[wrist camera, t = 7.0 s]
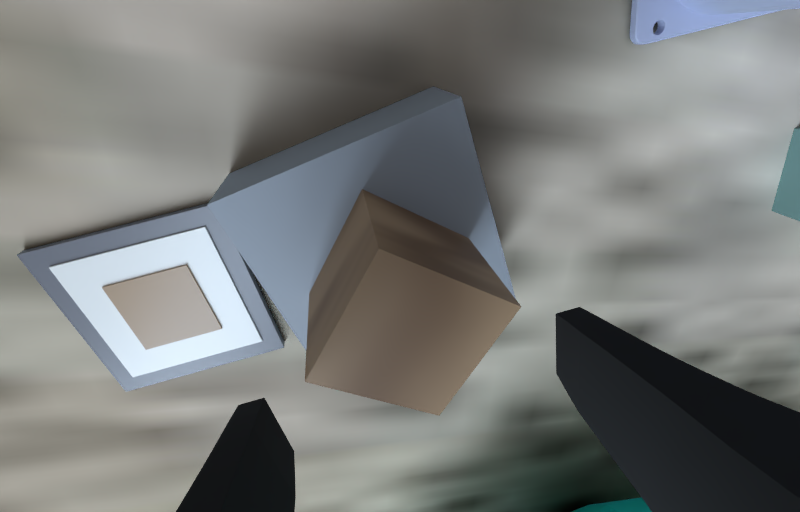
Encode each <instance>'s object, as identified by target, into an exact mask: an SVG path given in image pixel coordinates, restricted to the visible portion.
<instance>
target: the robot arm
mask: <svg viewBox="0 0 800 512" xmlns="http://www.w3.org/2000/svg"><path fill="white" fill-rule="evenodd" d="M799 8H800V0H632V10H631V24H630V39H631V41H632V42H633V43H634V44H648V43H652V42H656V41H660V40H664V39H668V38H672V37H676V36H680V35H684V34H688V33H692V32H696V31H700V30H704V29H708V28H712V27H716V26H720V25H724V24H728V23H732V22H736V21H740V20H744V19H749V18H753V17H757V16H761V15H765V14H769V13H773V12H777V11H781V10H786V9H799ZM656 22H657V23H658V28H657V30H656V32H655V33H653V27H654V24H655V23H656ZM556 371H557V375H558V377H559V379H560V380H561V382H562V384H563V386H564V388H565V389H566V391H567V393H568V395H569V396H570V398H571V400H572V401H573V403H574V405H575V407H576V408H577V410H578V412H579V413H580V414H581V416H582V417H583V418H584V420H585V421H586V423H587V424H588V425H589V427H590V428H591V429H592V431H593V432H594V434H595V435H596V436H597V438H598V439H599V440H600V442H601V443H602V444H603V446H604V447H605V449H606V450H607V451H608V453H609V454H610V455H611V457H612V458H613V459H614V461H615V462H616V463H617V465H618V466H619V467H620V469H621V470H622V471H623V473H624V474H625V475H626V477H627V478H628V480H629V481H630V482H631V484H632V485H633V486H634V488H635V489H636V490H637V492H638V493H639V494H640V496H641V497H642V498H643V500H644V501H645V503H646V504H647V506H648V507H649V509H650V510H651V511H652V512H800V413H799V412H797V411H794V410H792V409H789V408H787V407H784V406H782V405H779V404H777V403H774V402H772V401H769V400H767V399H764V398H762V397H759V396H757V395H755V394H752V393H750V392H748V391H745V390H743V389H741V388H739V387H736V386H734V385H732V384H730V383H728V382H725V381H723V380H721V379H719V378H717V377H715V376H712V375H710V374H708V373H706V372H704V371H702V370H699V369H697V368H695V367H693V366H691V365H689V364H687V363H685V362H683V361H681V360H679V359H677V358H675V357H673V356H671V355H669V354H667V353H665V352H663V351H661V350H659V349H657V348H655V347H653V346H651V345H650V344H648V343H646V342H644V341H642V340H640V339H638V338H636V337H634V336H633V335H631V334H629V333H627V332H625V331H623V330H621V329H620V328H618V327H616V326H614V325H612V324H610V323H609V322H607V321H605V320H603V319H601V318H599V317H597V316H596V315H594V314H592V313H590V312H588V311H586V310H584V309H582V308H580V307H578V308H574V309H571V310H567V311H564V312H560V313H557V314H556ZM294 509H295V465H294V450H293V449H292V447H291V445H290V443H289V441H288V440H287V438H286V436H285V434H284V432H283V431H282V429H281V427H280V425H279V423H278V422H277V420H276V418H275V416H274V414H273V413H272V411H271V409H270V407H269V405H268V404H267V402H266V400H265V398H262V399H258V400H255V401H251V402H248V403H244V404H241V405H238V407H237V409H236V410H235V412H234V414H233V415H232V417H231V419H230V420H229V422H228V424H227V426H226V427H225V429H224V431H223V433H222V434H221V436H220V438H219V440H218V441H217V443H216V445H215V447H214V448H213V450H212V452H211V453H210V455H209V457H208V459H207V460H206V462H205V464H204V466H203V467H202V469H201V471H200V472H199V474H198V476H197V477H196V479H195V481H194V482H193V484H192V486H191V487H190V489H189V491H188V493H187V494H186V496H185V498H184V499H183V501H182V503H181V504H180V506H179V507H178V509H177V511H176V512H294Z"/></svg>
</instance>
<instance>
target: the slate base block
mask: <svg viewBox="0 0 800 512" xmlns="http://www.w3.org/2000/svg"><path fill="white" fill-rule="evenodd" d="M362 189H363V190H365V191H368V192H370V193H372V194H374V195H376V196H378V197H381V198H383V199H385V200H387V201H389V202H391V203H394V204H396V205H398V206H400V207H402V208H404V209H407V210H409V211H411V212H413V213H415V214H417V215H420V216H422V217H424V218H426V219H428V220H430V221H433V222H435V223H437V224H439V225H441V226H443V227H446V228H448V229H450V230H452V231H454V232H456V233H459V234H461V235H463V236H465V237H467V238H469V239H470V240H471V242H472V243H473V244H474V246H475V247H476V248H477V249H478V251H479V252H480V253H481V255H482V256H483V257H484V259H485V260H486V261H487V263H488V264H489V265H490V266H491V268H492V269H493V270H494V272H495V273H496V274H497V276H498V277H499V278H500V280H501V281H502V282H503V283H504V285H505V286H506V287H507V289H508V290H509V291H510V293H511V294H512V295H513V297H514V298H515V295H514V291H513V287H512V284H511V280H510V276H509V272H508V269H507V265H506V261H505V257H504V254H503V250H502V246H501V243H500V239H499V235H498V231H497V228H496V224H495V220H494V217H493V213H492V209H491V205H490V202H489V198H488V194H487V191H486V187H485V183H484V179H483V176H482V172H481V168H480V164H479V161H478V157H477V153H476V150H475V146H474V142H473V138H472V135H471V131H470V127H469V124H468V120H467V116H466V112H465V109H464V105H463V101H462V98H461V96H458V95H456V94H453V93H450V92H447V91H445V90H442V89H439V88H436V87H434V86H433V87H431V88H428V89H426V90H424V91H421V92H419V93H417V94H414V95H412V96H410V97H407V98H405V99H403V100H400V101H398V102H396V103H393V104H391V105H389V106H386V107H384V108H381V109H379V110H377V111H374V112H372V113H370V114H367V115H365V116H363V117H360V118H358V119H356V120H353V121H351V122H349V123H346V124H344V125H342V126H339V127H337V128H335V129H332V130H330V131H328V132H325V133H323V134H321V135H318V136H316V137H314V138H311V139H309V140H307V141H304V142H302V143H300V144H297V145H295V146H292V147H290V148H288V149H285V150H283V151H281V152H278V153H276V154H274V155H271V156H269V157H267V158H264V159H262V160H260V161H257V162H255V163H253V164H250V165H248V166H246V167H243V168H241V169H239V170H236V171H234V172H232V173H229V174H228V176H227V177H226V179H225V180H224V182H223V183H222V184H221V186H220V187H219V189H218V190H217V191H216V193H215V194H214V196H213V197H212V199H211V200H210V201H209V203H208V204H207V206H208V207H209V208H210V210H211V211H212V213H213V214H214V216H215V217H216V219H217V220H218V222H219V223H220V225H221V226H222V228H223V229H224V231H225V232H226V233H227V235H228V236H229V238H230V239H231V241H232V242H233V244H234V245H235V247H236V248H237V250H238V251H239V253H240V254H241V256H242V257H243V259H244V260H245V261H246V263H247V264H248V266H249V267H250V269H251V270H252V272H253V273H254V275H255V276H256V278H257V279H258V281H259V282H260V284H261V285H262V286H263V288H264V289H265V291H266V292H267V294H268V295H269V297H270V298H271V300H272V301H273V303H274V304H275V306H276V307H277V309H278V310H279V311H280V313H281V314H282V316H283V317H284V319H285V320H286V322H287V323H288V325H289V326H290V328H291V329H292V331H293V332H294V334H295V335H296V337H297V338H298V339H299V341H300V342H301V344H302V345H303V347H304V348H305V350H306V349H307V328H308V307H309V293H310V291H311V289H312V287H313V285H314V283H315V281H316V279H317V277H318V275H319V273H320V271H321V269H322V267H323V265H324V263H325V261H326V259H327V257H328V255H329V253H330V251H331V249H332V247H333V245H334V243H335V241H336V239H337V237H338V235H339V233H340V231H341V230H342V228H343V226H344V224H345V222H346V220H347V218H348V216H349V214H350V212H351V210H352V208H353V206H354V204H355V202H356V200H357V198H358V196H359V194H360V192H361V190H362ZM515 299H516V298H515Z"/></svg>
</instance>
